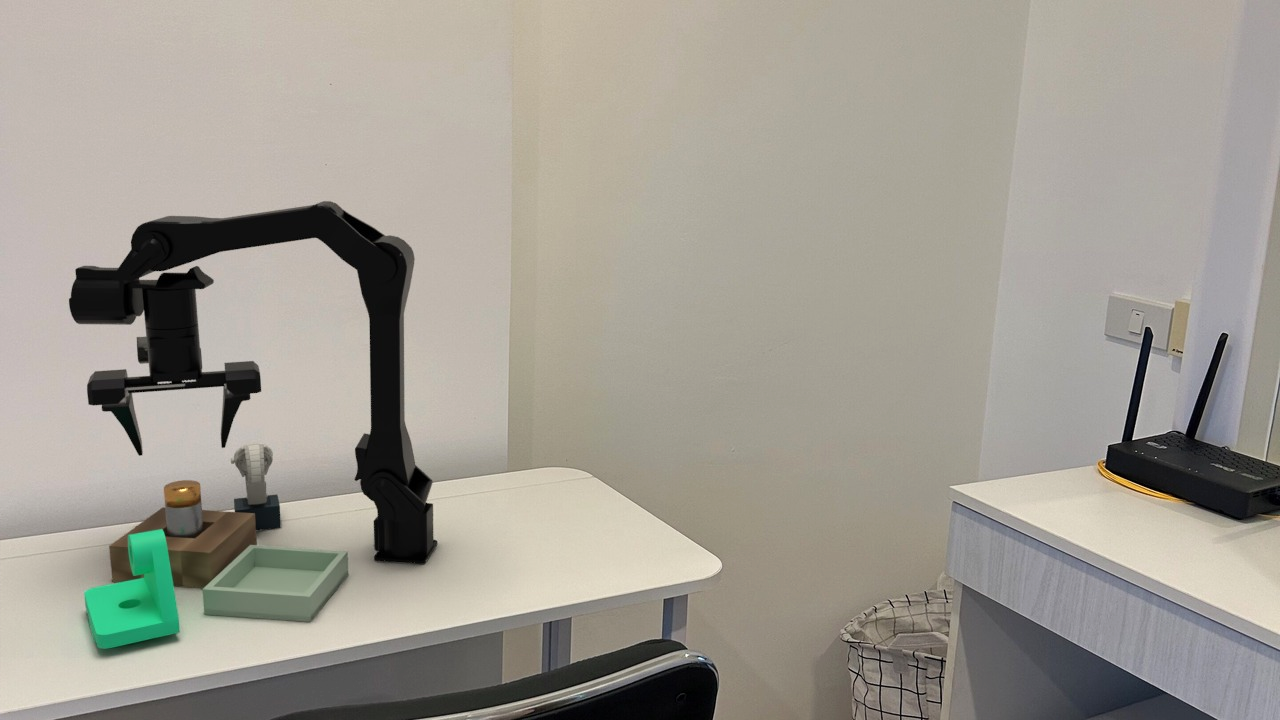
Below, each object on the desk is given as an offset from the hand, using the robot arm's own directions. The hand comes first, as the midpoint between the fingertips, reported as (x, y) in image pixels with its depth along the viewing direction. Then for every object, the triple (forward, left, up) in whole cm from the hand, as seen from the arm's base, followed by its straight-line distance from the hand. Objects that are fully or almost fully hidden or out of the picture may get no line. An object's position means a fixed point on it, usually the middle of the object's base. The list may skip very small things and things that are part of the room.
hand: (182, 450), depth 128 cm
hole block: (-1, +3, -13) cm, 14 cm away
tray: (-15, +9, -13) cm, 22 cm away
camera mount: (-3, +18, -14) cm, 23 cm away
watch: (-4, -10, -14) cm, 17 cm away
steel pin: (-1, +3, -13) cm, 14 cm away
